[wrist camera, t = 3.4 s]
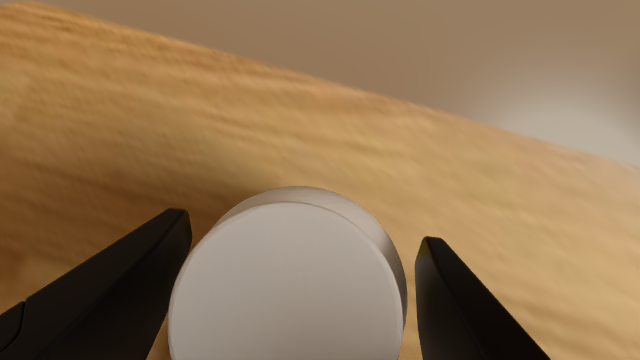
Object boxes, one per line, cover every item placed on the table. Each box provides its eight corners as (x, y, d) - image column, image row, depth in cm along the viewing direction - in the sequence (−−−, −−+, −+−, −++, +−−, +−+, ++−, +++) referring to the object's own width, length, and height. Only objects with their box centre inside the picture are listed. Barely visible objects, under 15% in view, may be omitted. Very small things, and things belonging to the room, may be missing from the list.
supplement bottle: (235, 218, 16) (113, 180, 7) (359, 200, 16) (418, 136, 7) (250, 350, 15) (133, 531, 6) (380, 329, 15) (484, 470, 6)
